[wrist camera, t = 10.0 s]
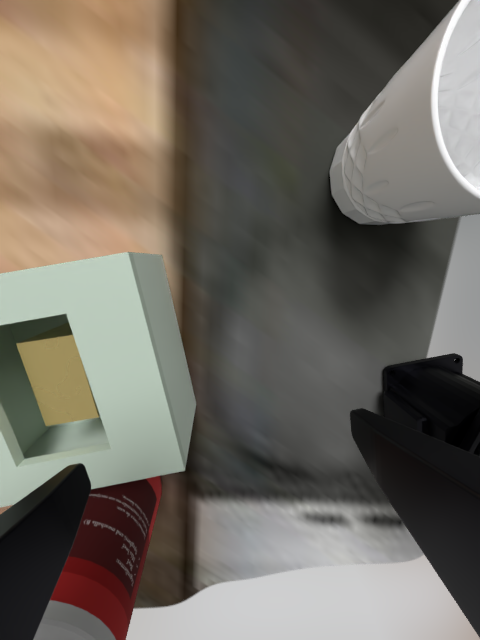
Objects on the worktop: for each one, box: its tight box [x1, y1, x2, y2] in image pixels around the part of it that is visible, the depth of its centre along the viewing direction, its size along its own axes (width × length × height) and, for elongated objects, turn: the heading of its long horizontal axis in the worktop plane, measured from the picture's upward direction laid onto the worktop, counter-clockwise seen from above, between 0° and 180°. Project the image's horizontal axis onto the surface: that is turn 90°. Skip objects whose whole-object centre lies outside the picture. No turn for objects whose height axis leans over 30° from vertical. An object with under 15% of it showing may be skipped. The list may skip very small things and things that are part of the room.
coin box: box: [0, 252, 196, 507], centre depth 16 cm, size 12×12×7 cm
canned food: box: [33, 476, 162, 640], centre depth 17 cm, size 8×8×11 cm
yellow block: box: [16, 322, 100, 426], centre depth 17 cm, size 3×5×5 cm, turn 8°
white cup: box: [329, 0, 480, 225], centre depth 14 cm, size 8×8×10 cm
